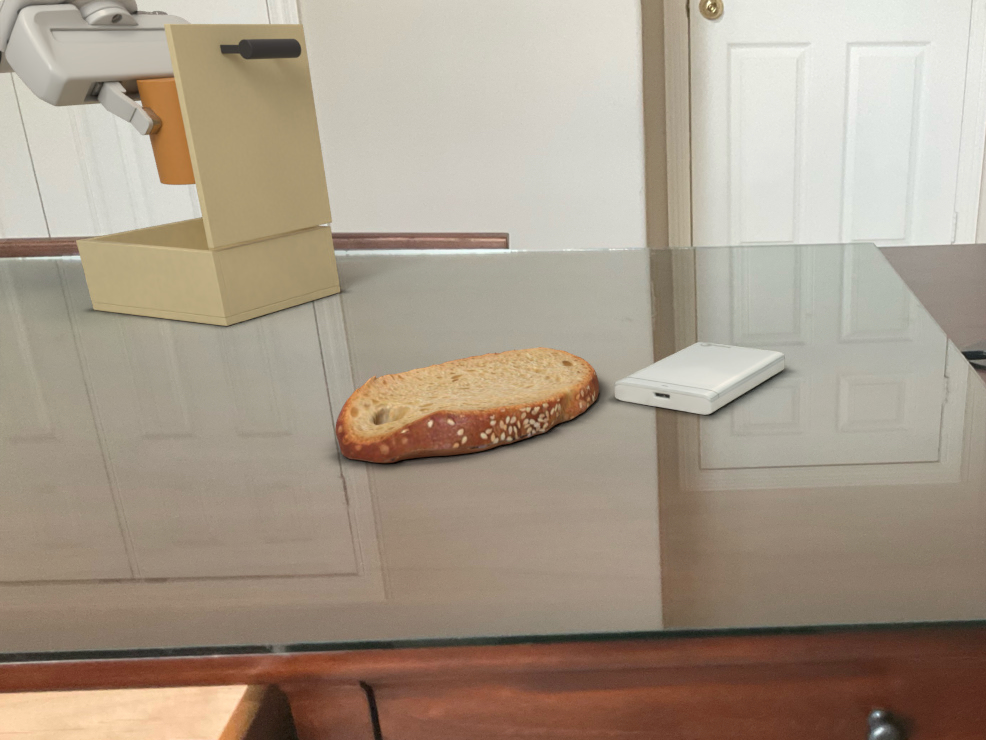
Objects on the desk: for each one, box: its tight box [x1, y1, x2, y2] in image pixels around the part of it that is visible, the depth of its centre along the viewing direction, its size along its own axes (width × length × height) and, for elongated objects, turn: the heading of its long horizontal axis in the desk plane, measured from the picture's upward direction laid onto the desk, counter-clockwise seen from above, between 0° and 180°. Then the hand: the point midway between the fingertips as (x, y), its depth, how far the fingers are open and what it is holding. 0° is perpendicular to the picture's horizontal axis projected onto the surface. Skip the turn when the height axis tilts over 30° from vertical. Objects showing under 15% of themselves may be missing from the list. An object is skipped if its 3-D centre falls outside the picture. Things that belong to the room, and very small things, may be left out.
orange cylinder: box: [136, 77, 196, 186], centre depth 102 cm, size 6×6×9 cm
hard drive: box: [613, 341, 786, 416], centre depth 83 cm, size 2×8×12 cm
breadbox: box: [75, 216, 341, 327], centre depth 109 cm, size 18×16×7 cm
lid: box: [164, 23, 333, 248], centre depth 100 cm, size 18×16×4 cm
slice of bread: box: [334, 346, 600, 464], centre depth 76 cm, size 18×18×4 cm
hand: (184, 126), depth 101 cm, fingers closed on orange cylinder, 5 cm apart
